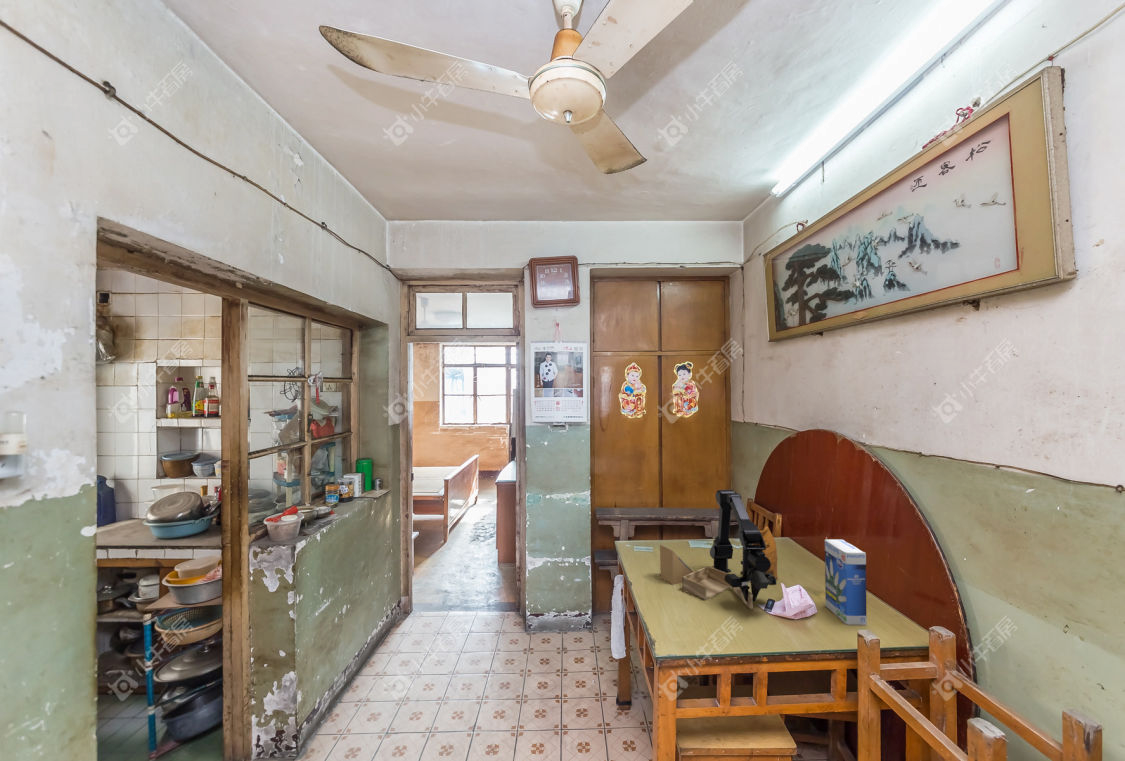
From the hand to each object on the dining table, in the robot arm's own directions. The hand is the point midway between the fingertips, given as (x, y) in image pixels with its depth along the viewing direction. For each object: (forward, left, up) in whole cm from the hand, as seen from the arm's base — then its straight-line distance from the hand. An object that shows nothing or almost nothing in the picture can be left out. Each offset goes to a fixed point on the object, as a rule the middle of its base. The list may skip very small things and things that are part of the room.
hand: (750, 601), depth 164 cm
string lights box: (-21, +25, -2) cm, 33 cm away
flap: (-2, -5, -1) cm, 5 cm away
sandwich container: (+2, -32, -2) cm, 32 cm away
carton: (+2, -18, -2) cm, 18 cm away
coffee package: (-25, -9, -2) cm, 27 cm away
